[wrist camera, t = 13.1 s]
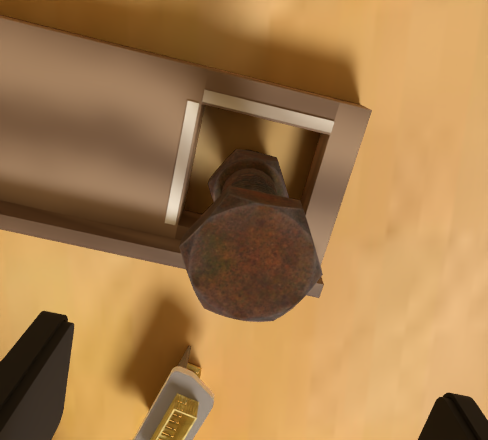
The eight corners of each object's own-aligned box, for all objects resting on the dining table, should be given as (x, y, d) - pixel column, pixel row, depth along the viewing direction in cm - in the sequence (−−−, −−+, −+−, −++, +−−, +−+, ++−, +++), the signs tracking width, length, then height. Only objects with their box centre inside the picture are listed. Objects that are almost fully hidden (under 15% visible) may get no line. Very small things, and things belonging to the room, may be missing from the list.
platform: (293, 329, 37) (302, 385, 30) (198, 474, 42) (190, 546, 36) (157, 267, 35) (138, 314, 29) (77, 428, 40) (47, 496, 34)
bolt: (201, 197, 32) (167, 307, 18) (214, 127, 31) (188, 188, 16) (280, 213, 33) (307, 333, 19) (297, 145, 31) (342, 220, 17)
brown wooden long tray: (309, 263, 34) (319, 297, 29) (-101, 173, 32) (-162, 194, 27) (360, 104, 30) (381, 114, 25) (-107, -12, 28) (-179, -25, 23)
